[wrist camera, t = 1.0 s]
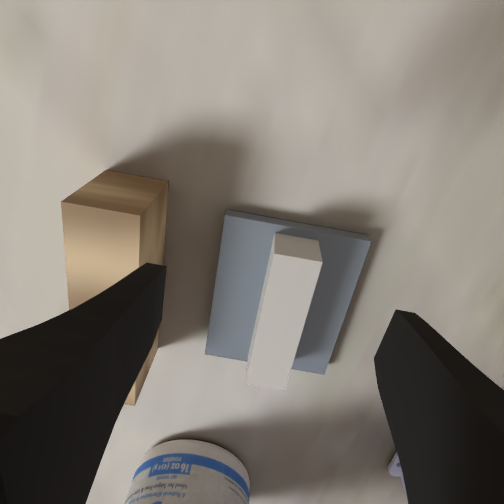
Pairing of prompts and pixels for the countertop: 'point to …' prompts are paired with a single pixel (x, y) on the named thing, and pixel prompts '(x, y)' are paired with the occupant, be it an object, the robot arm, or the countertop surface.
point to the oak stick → (113, 238)
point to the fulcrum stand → (281, 295)
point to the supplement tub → (189, 475)
